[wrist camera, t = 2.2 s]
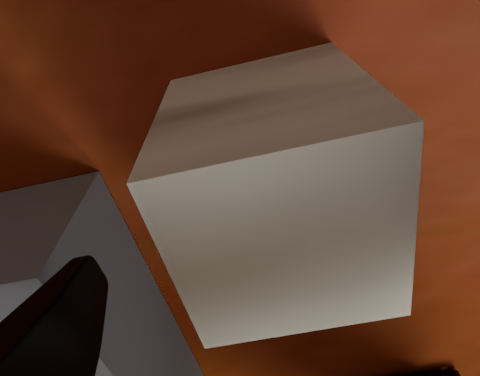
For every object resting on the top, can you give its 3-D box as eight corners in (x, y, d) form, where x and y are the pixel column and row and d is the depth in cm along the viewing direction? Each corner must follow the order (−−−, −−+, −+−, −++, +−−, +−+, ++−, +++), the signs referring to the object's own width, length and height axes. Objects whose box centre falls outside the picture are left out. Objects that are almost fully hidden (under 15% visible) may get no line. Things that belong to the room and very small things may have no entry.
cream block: (341, 179, 13) (410, 315, 8) (212, 205, 14) (204, 349, 9) (331, 41, 11) (424, 120, 6) (170, 79, 11) (125, 183, 6)
